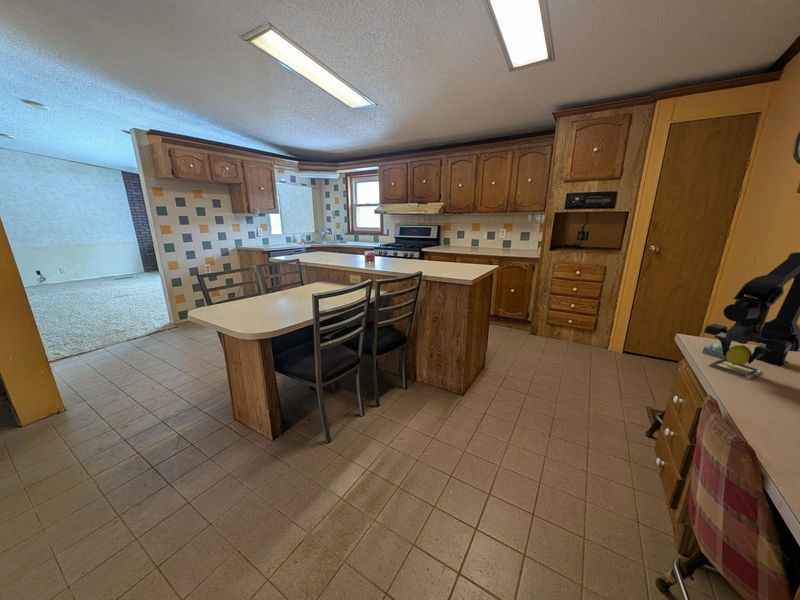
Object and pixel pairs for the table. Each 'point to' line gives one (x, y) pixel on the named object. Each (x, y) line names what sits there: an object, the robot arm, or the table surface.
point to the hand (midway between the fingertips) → (736, 359)
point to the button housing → (713, 352)
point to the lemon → (738, 355)
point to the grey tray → (736, 369)
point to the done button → (718, 347)
